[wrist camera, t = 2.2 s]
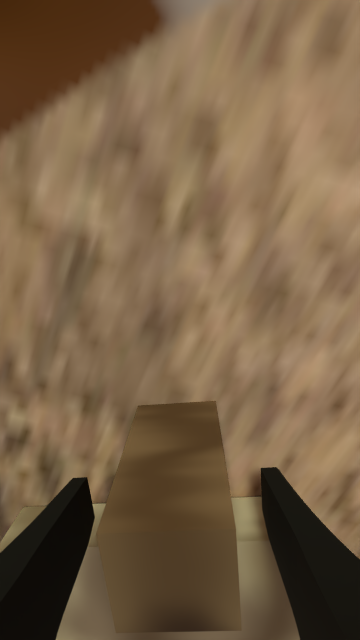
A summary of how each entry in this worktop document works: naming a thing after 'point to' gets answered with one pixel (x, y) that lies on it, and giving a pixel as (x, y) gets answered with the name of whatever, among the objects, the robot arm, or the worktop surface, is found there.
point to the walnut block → (171, 526)
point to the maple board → (256, 636)
